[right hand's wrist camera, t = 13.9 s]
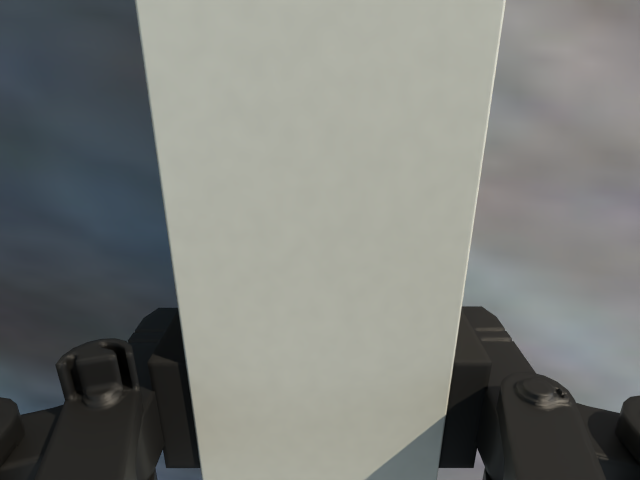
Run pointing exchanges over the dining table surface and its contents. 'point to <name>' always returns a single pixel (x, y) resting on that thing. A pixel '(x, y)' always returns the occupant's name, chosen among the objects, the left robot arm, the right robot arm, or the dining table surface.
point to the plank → (319, 221)
